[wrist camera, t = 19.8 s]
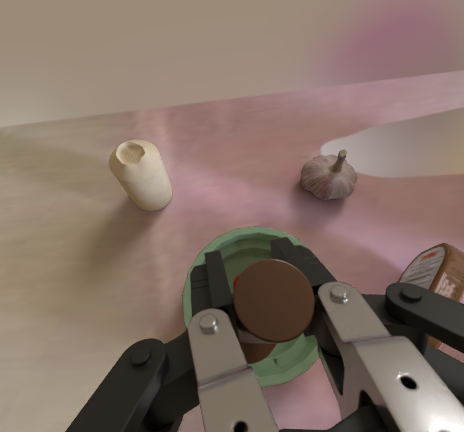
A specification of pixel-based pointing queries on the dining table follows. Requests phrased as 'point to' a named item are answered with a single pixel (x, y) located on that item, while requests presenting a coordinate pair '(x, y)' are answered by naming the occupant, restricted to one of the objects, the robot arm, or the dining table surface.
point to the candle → (141, 174)
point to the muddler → (271, 306)
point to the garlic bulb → (329, 177)
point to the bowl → (235, 262)
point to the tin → (438, 274)
